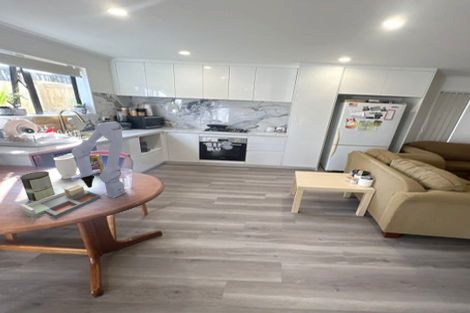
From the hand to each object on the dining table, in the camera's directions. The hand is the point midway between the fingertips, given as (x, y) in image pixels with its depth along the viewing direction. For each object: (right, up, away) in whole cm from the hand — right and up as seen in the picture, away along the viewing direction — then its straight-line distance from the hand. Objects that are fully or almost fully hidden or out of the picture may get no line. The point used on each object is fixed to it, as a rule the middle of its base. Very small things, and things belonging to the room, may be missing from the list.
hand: (89, 187), depth 104 cm
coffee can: (-21, -5, -7) cm, 22 cm away
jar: (-31, +4, +19) cm, 37 cm away
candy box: (-17, +6, +26) cm, 31 cm away
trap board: (-1, -7, -14) cm, 16 cm away
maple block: (-3, -3, -6) cm, 8 cm away
